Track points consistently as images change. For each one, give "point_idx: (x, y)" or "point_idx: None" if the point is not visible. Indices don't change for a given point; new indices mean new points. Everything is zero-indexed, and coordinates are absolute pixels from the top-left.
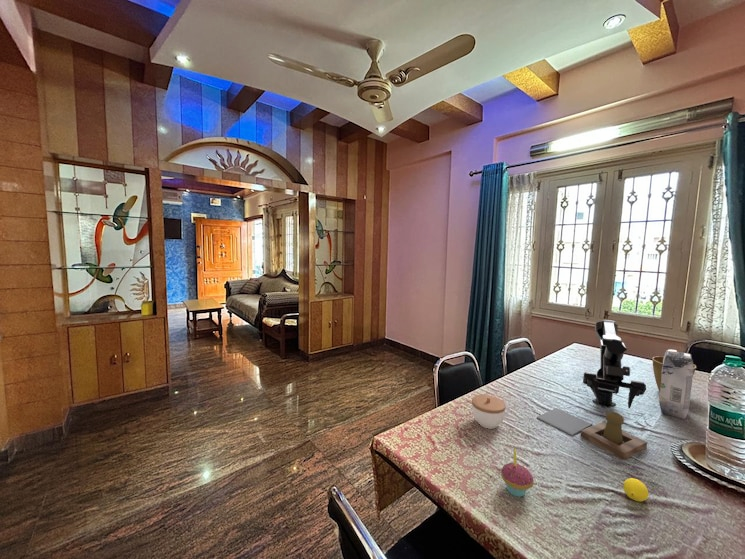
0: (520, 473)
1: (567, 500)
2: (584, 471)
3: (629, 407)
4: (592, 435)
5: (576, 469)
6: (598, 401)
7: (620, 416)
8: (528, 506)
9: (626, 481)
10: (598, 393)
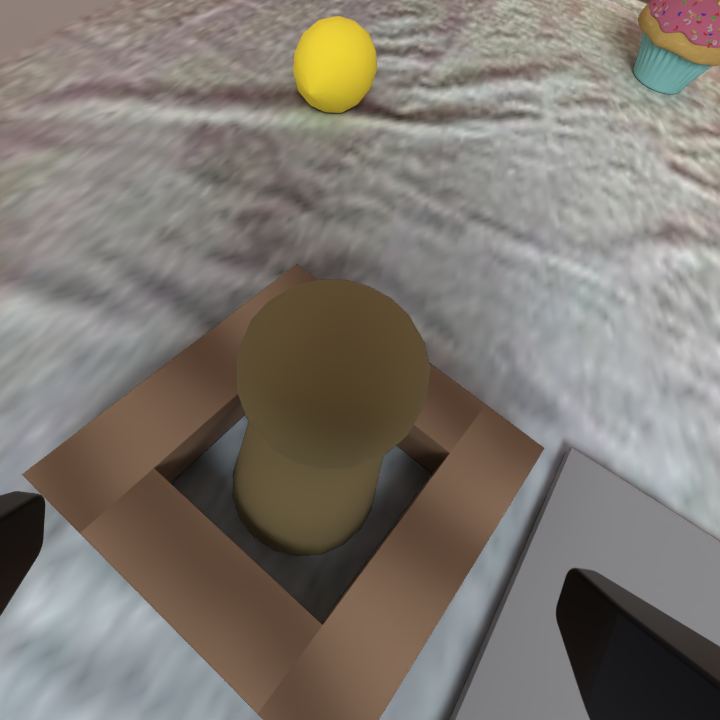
0: None
1: (529, 70)
2: (488, 180)
3: (34, 496)
4: (465, 404)
5: (517, 183)
6: (564, 589)
7: (286, 308)
8: (611, 47)
9: (371, 45)
10: (692, 667)
